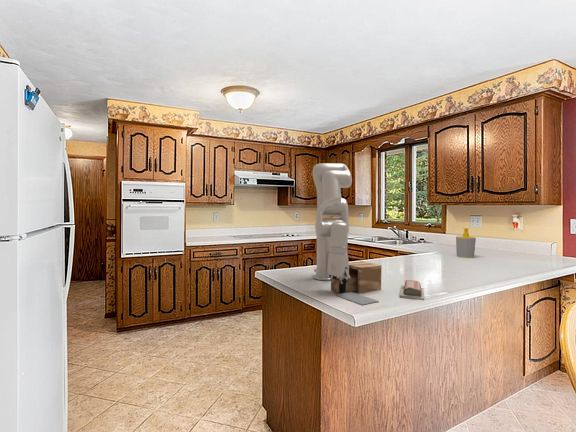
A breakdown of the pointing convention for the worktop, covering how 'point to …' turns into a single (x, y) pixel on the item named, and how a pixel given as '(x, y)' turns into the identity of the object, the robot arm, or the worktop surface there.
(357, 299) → the grey mat
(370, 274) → the brown squarish box
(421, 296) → the packaged product
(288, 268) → the worktop surface
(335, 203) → the robot arm
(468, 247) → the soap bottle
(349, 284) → the walnut block
